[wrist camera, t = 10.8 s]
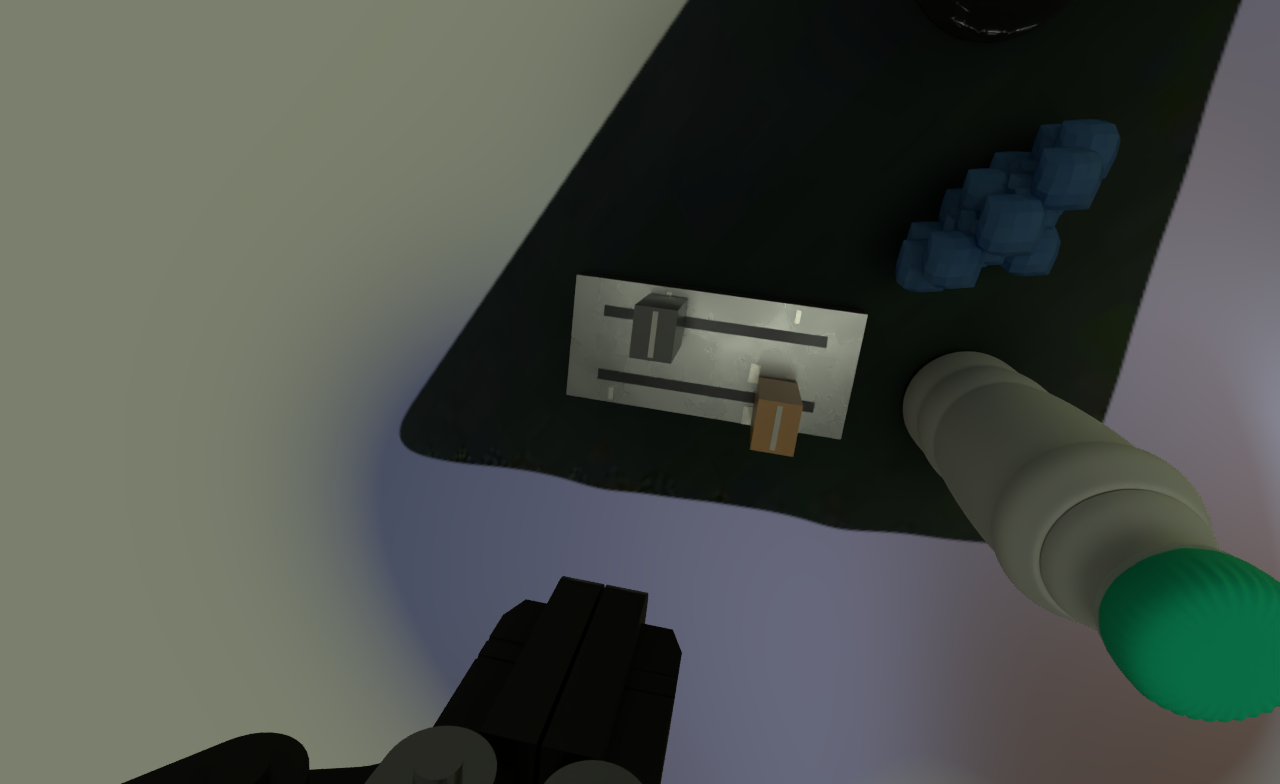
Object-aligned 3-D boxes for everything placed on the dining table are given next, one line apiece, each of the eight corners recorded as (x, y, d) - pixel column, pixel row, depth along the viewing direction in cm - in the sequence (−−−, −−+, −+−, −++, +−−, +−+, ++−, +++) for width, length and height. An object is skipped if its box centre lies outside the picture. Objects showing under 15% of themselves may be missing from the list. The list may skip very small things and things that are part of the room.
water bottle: (906, 462, 43) (1092, 773, 19) (894, 358, 41) (1081, 559, 18) (1023, 447, 41) (1382, 767, 18) (1015, 339, 40) (1400, 531, 16)
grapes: (919, 327, 40) (983, 372, 29) (852, 242, 40) (891, 255, 28) (1097, 199, 37) (1250, 193, 26) (1028, 103, 36) (1152, 55, 25)
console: (584, 271, 43) (576, 274, 41) (862, 310, 41) (868, 315, 39) (574, 386, 45) (565, 395, 43) (836, 429, 43) (840, 440, 41)
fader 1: (649, 293, 40) (634, 304, 36) (687, 298, 40) (677, 311, 35) (643, 340, 41) (628, 358, 36) (680, 346, 41) (670, 364, 36)
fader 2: (758, 376, 41) (759, 399, 36) (797, 383, 40) (803, 406, 35) (750, 422, 41) (750, 450, 37) (788, 428, 41) (793, 457, 36)
